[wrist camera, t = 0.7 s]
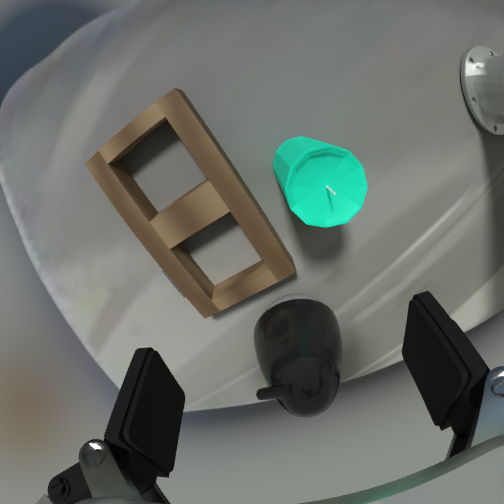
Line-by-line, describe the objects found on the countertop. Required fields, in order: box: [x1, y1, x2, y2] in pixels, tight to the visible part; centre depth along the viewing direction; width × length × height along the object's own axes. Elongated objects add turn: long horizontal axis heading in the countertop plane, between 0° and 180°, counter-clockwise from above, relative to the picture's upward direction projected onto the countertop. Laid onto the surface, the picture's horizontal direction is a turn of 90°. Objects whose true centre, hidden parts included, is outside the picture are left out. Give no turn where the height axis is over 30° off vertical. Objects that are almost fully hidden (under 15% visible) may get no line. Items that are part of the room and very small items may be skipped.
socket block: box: [85, 88, 296, 318], centre depth 28 cm, size 12×22×3 cm, turn 32°
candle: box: [272, 136, 368, 228], centre depth 22 cm, size 6×6×12 cm
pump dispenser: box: [254, 294, 343, 417], centre depth 29 cm, size 10×10×15 cm
